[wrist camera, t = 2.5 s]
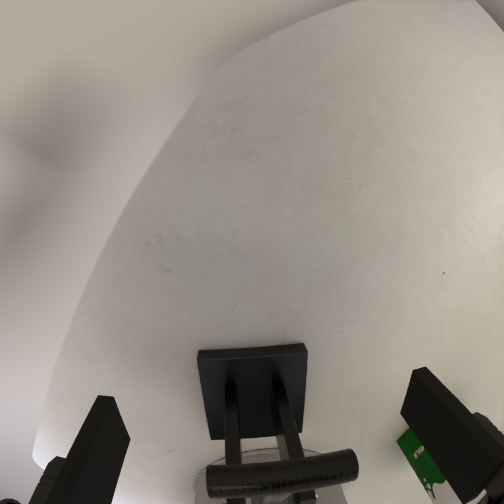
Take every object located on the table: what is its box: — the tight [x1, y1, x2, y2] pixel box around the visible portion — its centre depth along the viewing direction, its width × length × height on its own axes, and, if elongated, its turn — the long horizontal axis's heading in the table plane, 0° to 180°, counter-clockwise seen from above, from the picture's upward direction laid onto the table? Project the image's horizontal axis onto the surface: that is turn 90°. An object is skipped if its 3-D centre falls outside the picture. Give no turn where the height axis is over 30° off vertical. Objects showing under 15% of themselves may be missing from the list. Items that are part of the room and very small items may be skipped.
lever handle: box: [206, 449, 359, 504], centre depth 11 cm, size 12×5×2 cm, turn 2°
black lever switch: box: [197, 343, 318, 504], centre depth 19 cm, size 10×9×14 cm
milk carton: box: [397, 428, 487, 504], centre depth 20 cm, size 9×9×20 cm
